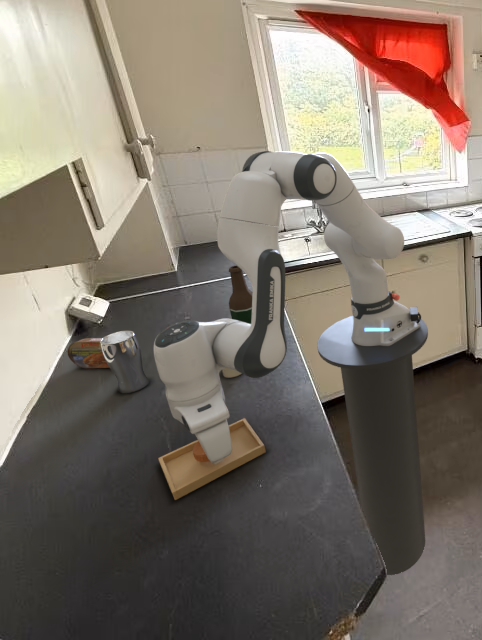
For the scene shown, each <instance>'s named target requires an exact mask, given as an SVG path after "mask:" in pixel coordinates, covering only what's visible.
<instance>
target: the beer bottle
mask: <svg viewBox="0 0 482 640" xmlns="http://www.w3.org/2000/svg"><path fill="white" fill-rule="evenodd" d="M228 272H229V274H230V279H231V287H232V293H231V295H230V297H229V300H228V309H229V313H230V315H231V316H230V317H231V319H234V320H238V321H242V322H246V323H249V324H251V319H252V294H253V290H250V289H249V287H248V285H247V282H246V278H245V275H244V272H243V271H242V270H241V269H240V268H239V267H238V266H237V265H233V266H230V267H229V268H228Z"/></svg>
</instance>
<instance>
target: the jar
mask: <svg viewBox="0 0 482 640" xmlns="http://www.w3.org/2000/svg"><path fill="white" fill-rule="evenodd" d="M221 373H222V376H223V377H224V378H228V379H229V378H236V377H238V376H240V375H243V374H242V373H240V372H238V371H236V370H233V369H230V368H224V369H222V370H221Z"/></svg>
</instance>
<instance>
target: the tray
mask: <svg viewBox="0 0 482 640" xmlns="http://www.w3.org/2000/svg"><path fill="white" fill-rule="evenodd" d="M228 426H229V431H230V437H231V443H232V452H231V454H230V455H229V456H227V457H225V458H224V460H223V461H222V462H220V463H218V464H216V465H215V464H214V463H211V462H210V461H208V462H199V461H197V460H195V458H194V455H193V447H194V445H195V444H196V443H197V442H198V439H197V440H194V441H192V442H190V443H188V444H186V445H184V446H181V447H178V448H176V449H175V450H173V451H170V452H168V453H166V454H164V455H162V456H160V457H158V458H157V459H158V462H159V465H160V467H161V470H162V472H163V475H164V477H165V480H166V482H167V484H168V487H169V489H170V492H171V494H172V496H173V499H174V501H177V500H179V499H180V498H182V497H184V496H186V495H188V494H190V493H192V492H194V491H196V490H197V489H199V488H201V487H203V486H205V485H207V484H209V483H210V482H212V481H215V480H216V479H218V478H220V477H222V476H224V475H226V474H227V473H229V472H231V471H233V470H235V469H237V468H238V467H241V466H243V465H244V464H246V463H248V462H250V461H252V460H254V459H255V458H257V457H259V456H262V455H264V454H265V453H266V452H267V451H266V447H265V444H264V443H263V441H262V440H261V439H260V437H259V436H258V435H257V433H256V432H255V430H254V429H253V428H252V426H251V425H250V423H249V421H248V420H247V418H245V417H243V418H242V419H239V420H238V421H235V422H233V423H231V424H228Z"/></svg>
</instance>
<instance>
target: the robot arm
mask: <svg viewBox="0 0 482 640" xmlns="http://www.w3.org/2000/svg"><path fill="white" fill-rule="evenodd" d="M286 200H307V201H310V202H311V201H312V202H313V201H314V202H315V204H316V205H317V206H318V208H319V209H320V211H321V212H322V214H323V215H324V217H325V218H326V219H327V221H328V222H329V223H327V225H326V227H325V229H324V233H323V239H324V240H323V241H324V243H325V245H326V247H328V249H330V250H331V251H332V252H333V253H334V254H335V256H337V258H338V259H339V260H340V262H341V264H342V266H343V267H344V270H345V272H346V274H347V276H348V281H349V287H350V288H349V289H350V295H351V296H350V307H351V313H352V316H353V318H354V320H353V332H352V337H351V339H352V341H353V342H354V343H356V344H358V345H361V346H378V345H381V346H390V345H392V344H394V343H395V342H397V341H399V340H400V339H402V338H403V337H405V336H407V335H408V334H410V333H412V332H413V331H415V330H416V329H418V328H419V327H420V320H421V319H422V315H421V313H420V312H419V311H418V306H410V307H409V308H408V307H407V306H406V305H404V304H402V303H400V302H398V301H399V300H400V298H401V297H400V295H399V294H397V293H393V292H391V291H389V287H388V278H387V272H386V270H385V269H384V267H382V265H380V264H379V263H377V261H376V260H391V259H393V260H394V259H396V258H398V257H399V256H400V254H401V253H402V252H403V249H404V247H405V236H404V234H403V232H402V230H401V229H400V228H399V227H397V226H395V225H393V224H391V223H390V222H388V221H387V220H385V219H384V218H383V217H382V216H380V214H379V213H377V211H375V210H374V209H372V207H371V206H370V205H368V203H367V201H366V200H365V199H364V198H363V196H362V195H361V193H360V192H359V190H358V187H357V186H356V185H355V183H354V181H353V180H352V178H351V176H350V174H349V173H348V172H347V171H346V169H345V168H344V167H343V165H342V164H341V163H340V162H339V161H338V159H336V158H335V156H333V155H332V154H330V153H327V152H315V153H305V152H304V153H303V152H298V151H289V150H288V151H287V150H286V151H270V150H264V151H258V152H255V153H252V154H251V155H250V156H249V157H248V158H247V159H246V160H245V162H244V164H243V166H242V170H241V171H240V172H238V173H236V174H234V175H233V176H232V178H231V180H230V182H229V185H228V187H227V189H226V192H225V195H224V198H223V201H222V205H221V209H220V215H219V219H218V222H217V223H218V224H217V229H216V230H217V231H216V240H217V246H218V249H219V250H220V252H221V253H222V254H223V256H224V257H225V258H226V259H227V260H229V261H230V262H231V263H233V264H234V265H235V266H238V267H239V268H240V269H241V270H242V271H243V274H245V276H247V278H248V279H249V282H250V284H251V289H252V290H251V291H252V292H253V294H252V319H251V324H249V323H246V322H242V321H238V320H234V319H232V318H228V317H227V318H226V317H222V318H216V319H214V320H211V321H197V320H191V319H190V320H183V321H178V322H176V323H173V324H171V325H169V326H167V327H166V328H164V329H163V330H162V331H160V332H158V334H157V335H156V337H155V339H154V342H153V358H154V362H155V367H156V370H157V373H158V376H159V379H160V381H161V382H162V383H163V384H164V387H165V393H164V395H165V398H166V402H167V404H168V407H169V410H170V414H171V416H172V418H173V419H175V420H176V421H179V422H180V423H181V424H183V425H184V427H185V428H186V429H187V430H188V431H189V433H190V434H191V435H194V436H195V437H196V439H197V440H198V441H199V442H200V444H201V446H202V448H203V450H204V452H205V454H206V456H207V457H208V459H209V461H210V462H211V463H214V464H215V465H216V464H218V463H220V462H222V461H223V460H224V458H225V457H227V456H229V455H230V454H231V452H232V443H231V437H230V431H229V423H228V419H229V418H230V416H231V415H230V411H229V408H228V406H227V402H226V396H225V392H224V388H223V384H222V381H221V377H220V373H221V372H222V369H224V368H230V369H233V370H236V371H238V372H240V373H242V374H241V375H244V376H246V377H249V378H252V379H260V378H263V377H265V376H267V375H269V374H271V373H273V372H274V371H275V370H276V369H278V368H279V367H280V365H282V363H283V361H284V360H285V358H286V355H287V350H288V342H287V336H286V335H287V334H286V330H285V310H286V309H285V307H286V264H285V259H284V257H283V256H282V254H281V251H280V246H279V230H280V225H281V224H280V223H281V215H282V206H283V205H284V204H285V201H286ZM418 317H419V319H418Z"/></svg>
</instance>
